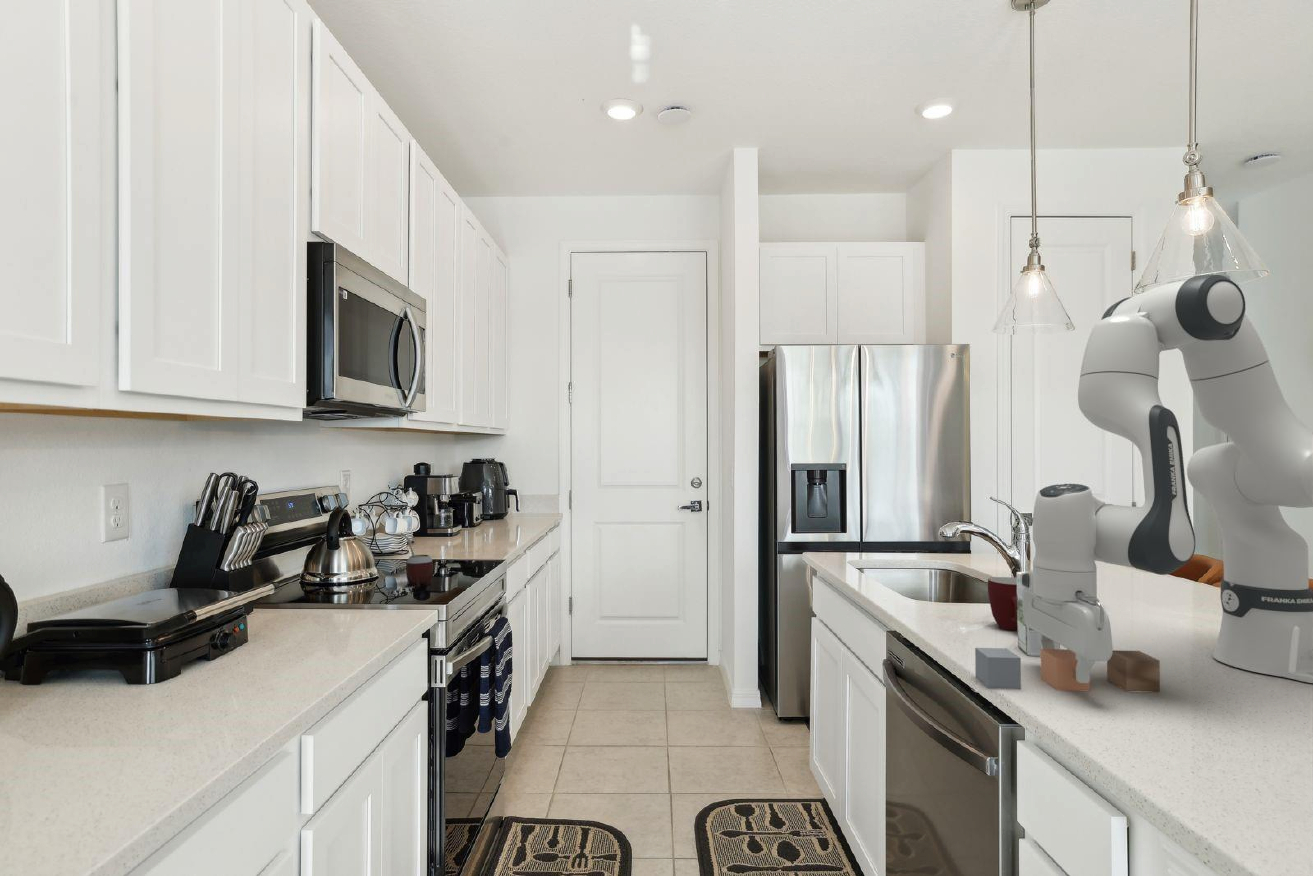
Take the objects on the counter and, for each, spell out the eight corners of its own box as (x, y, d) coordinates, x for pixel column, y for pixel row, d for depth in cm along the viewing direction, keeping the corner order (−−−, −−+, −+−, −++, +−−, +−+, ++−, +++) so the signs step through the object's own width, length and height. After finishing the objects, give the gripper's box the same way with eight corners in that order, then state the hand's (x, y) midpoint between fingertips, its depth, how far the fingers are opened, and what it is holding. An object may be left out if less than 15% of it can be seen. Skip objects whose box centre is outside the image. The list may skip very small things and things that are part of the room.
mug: (1045, 637, 135) (1045, 587, 135) (1003, 637, 135) (1003, 587, 135) (1020, 623, 145) (1019, 577, 145) (981, 623, 146) (981, 576, 146)
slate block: (1006, 678, 112) (1006, 648, 112) (1020, 689, 107) (1020, 657, 107) (975, 677, 112) (975, 647, 112) (988, 688, 107) (988, 657, 107)
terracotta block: (1072, 680, 111) (1072, 649, 111) (1089, 691, 106) (1089, 659, 106) (1040, 679, 111) (1040, 649, 111) (1056, 690, 106) (1056, 658, 106)
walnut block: (1139, 681, 110) (1138, 650, 110) (1159, 692, 105) (1159, 660, 105) (1107, 680, 110) (1107, 650, 111) (1126, 692, 106) (1126, 660, 106)
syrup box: (1061, 658, 122) (1061, 577, 122) (1025, 656, 123) (1025, 576, 123) (1049, 648, 127) (1049, 571, 128) (1015, 646, 129) (1015, 570, 129)
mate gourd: (435, 582, 189) (435, 528, 189) (429, 588, 181) (429, 532, 181) (407, 583, 188) (407, 529, 188) (400, 589, 180) (400, 533, 180)
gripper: (1124, 600, 98) (1125, 695, 98) (1052, 573, 119) (1052, 652, 118) (1079, 600, 99) (1080, 694, 98) (1015, 573, 119) (1015, 651, 119)
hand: (1064, 671), depth 109 cm, fingers open, 8 cm apart
